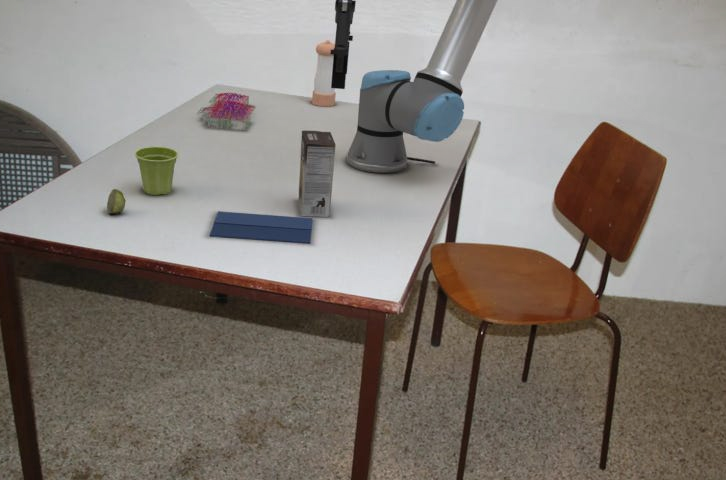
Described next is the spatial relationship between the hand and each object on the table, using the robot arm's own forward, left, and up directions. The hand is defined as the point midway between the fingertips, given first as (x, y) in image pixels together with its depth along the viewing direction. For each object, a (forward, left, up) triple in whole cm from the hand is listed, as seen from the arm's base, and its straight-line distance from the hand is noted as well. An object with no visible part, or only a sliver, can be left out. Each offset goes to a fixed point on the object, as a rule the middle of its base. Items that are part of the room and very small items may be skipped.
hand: (339, 80), depth 164 cm
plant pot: (+38, 0, -27) cm, 47 cm away
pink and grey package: (+31, -64, -27) cm, 76 cm away
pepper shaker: (+3, -86, -27) cm, 90 cm away
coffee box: (+3, +4, -27) cm, 28 cm away
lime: (+44, +14, -27) cm, 54 cm away
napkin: (+13, +17, -27) cm, 34 cm away
